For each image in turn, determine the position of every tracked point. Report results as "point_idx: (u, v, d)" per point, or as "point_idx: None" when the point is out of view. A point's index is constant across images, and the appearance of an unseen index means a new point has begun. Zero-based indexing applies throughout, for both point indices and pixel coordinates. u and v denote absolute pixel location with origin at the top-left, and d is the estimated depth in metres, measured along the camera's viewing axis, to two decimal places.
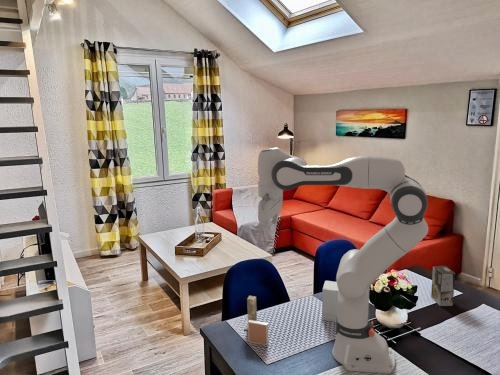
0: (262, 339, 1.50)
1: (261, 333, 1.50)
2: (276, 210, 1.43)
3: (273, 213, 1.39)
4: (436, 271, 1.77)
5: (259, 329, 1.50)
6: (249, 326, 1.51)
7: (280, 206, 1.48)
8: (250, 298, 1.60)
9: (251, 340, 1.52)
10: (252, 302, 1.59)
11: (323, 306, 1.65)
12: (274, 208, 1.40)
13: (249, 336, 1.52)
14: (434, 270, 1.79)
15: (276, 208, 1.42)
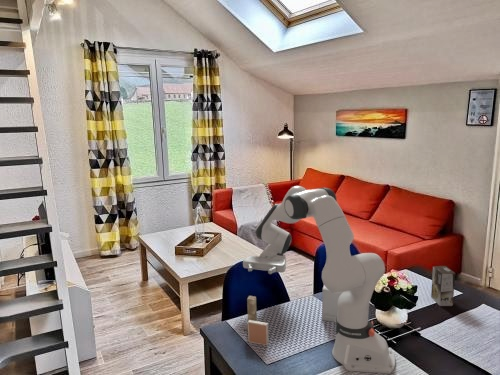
0: (262, 339, 1.50)
1: (261, 333, 1.50)
2: (266, 262, 1.75)
3: (258, 261, 1.76)
4: (436, 271, 1.77)
5: (259, 329, 1.50)
6: (249, 326, 1.51)
7: (279, 263, 1.73)
8: (250, 298, 1.60)
9: (251, 340, 1.52)
10: (252, 302, 1.59)
11: (323, 306, 1.65)
12: (262, 260, 1.77)
13: (249, 336, 1.52)
14: (434, 270, 1.79)
15: (266, 261, 1.76)
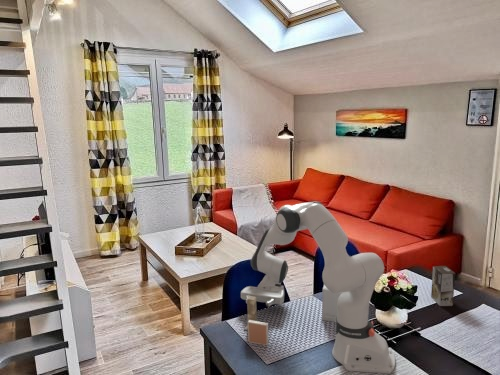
0: (262, 339, 1.50)
1: (261, 333, 1.50)
2: (264, 293, 1.72)
3: (256, 292, 1.74)
4: (436, 271, 1.77)
5: (259, 329, 1.50)
6: (249, 326, 1.51)
7: (277, 295, 1.71)
8: (250, 298, 1.60)
9: (251, 340, 1.52)
10: (252, 302, 1.59)
11: (323, 306, 1.65)
12: (260, 291, 1.75)
13: (249, 336, 1.52)
14: (434, 270, 1.79)
15: (264, 293, 1.73)
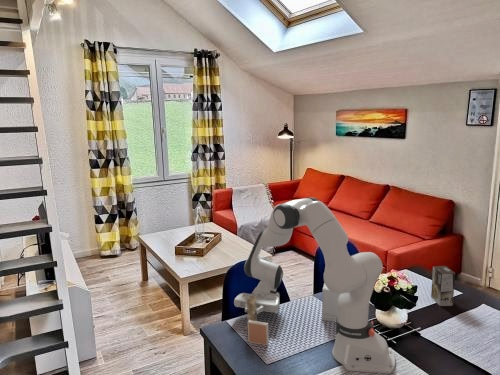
0: (262, 339, 1.50)
1: (261, 333, 1.50)
2: (259, 301, 1.66)
3: None
4: (436, 271, 1.77)
5: (259, 329, 1.50)
6: (249, 326, 1.51)
7: (272, 303, 1.64)
8: (250, 298, 1.60)
9: (251, 340, 1.52)
10: (252, 302, 1.59)
11: (323, 306, 1.65)
12: None
13: (249, 336, 1.52)
14: (434, 270, 1.79)
15: (259, 300, 1.66)
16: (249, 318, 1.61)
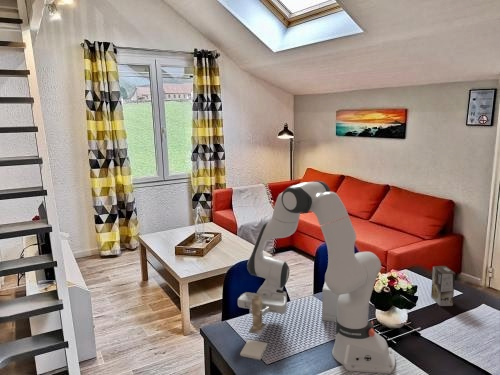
0: None
1: None
2: (265, 301, 1.52)
3: None
4: (436, 271, 1.77)
5: None
6: None
7: (278, 303, 1.51)
8: (255, 298, 1.47)
9: None
10: (257, 302, 1.46)
11: (323, 306, 1.65)
12: None
13: None
14: (434, 270, 1.79)
15: (264, 300, 1.53)
16: (254, 320, 1.48)
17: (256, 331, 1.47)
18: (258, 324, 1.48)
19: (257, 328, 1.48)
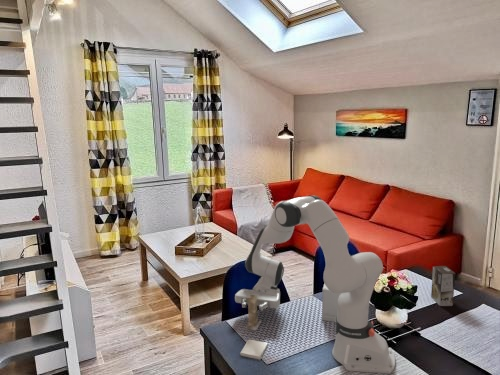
0: None
1: None
2: (259, 297, 1.66)
3: None
4: (436, 271, 1.77)
5: None
6: None
7: (272, 298, 1.64)
8: (251, 297, 1.61)
9: None
10: (253, 301, 1.60)
11: (323, 306, 1.65)
12: None
13: None
14: (434, 270, 1.79)
15: (259, 296, 1.67)
16: (250, 317, 1.62)
17: (252, 327, 1.61)
18: (253, 321, 1.62)
19: (252, 325, 1.62)
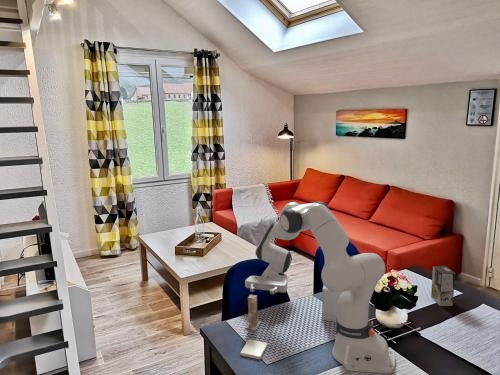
0: None
1: None
2: (268, 282, 1.78)
3: (260, 281, 1.79)
4: (436, 271, 1.77)
5: None
6: None
7: (280, 283, 1.76)
8: (251, 297, 1.61)
9: None
10: (253, 301, 1.60)
11: (323, 306, 1.65)
12: (264, 280, 1.80)
13: None
14: (434, 270, 1.79)
15: (268, 281, 1.78)
16: (250, 317, 1.62)
17: (252, 327, 1.61)
18: (253, 321, 1.62)
19: (252, 325, 1.62)
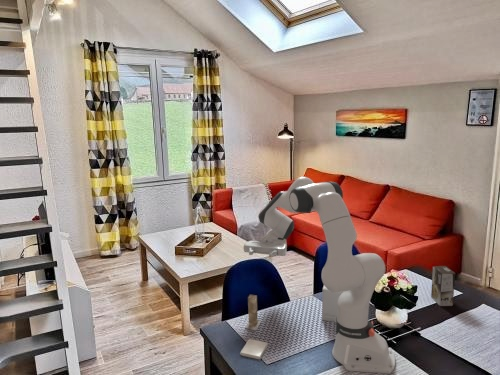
0: None
1: None
2: (267, 246, 1.74)
3: (259, 245, 1.76)
4: (436, 271, 1.77)
5: None
6: None
7: (279, 247, 1.72)
8: (251, 297, 1.61)
9: None
10: (253, 301, 1.60)
11: (323, 306, 1.65)
12: (263, 244, 1.76)
13: None
14: (434, 270, 1.79)
15: (267, 245, 1.75)
16: (250, 317, 1.62)
17: (252, 327, 1.61)
18: (253, 321, 1.62)
19: (252, 325, 1.62)
